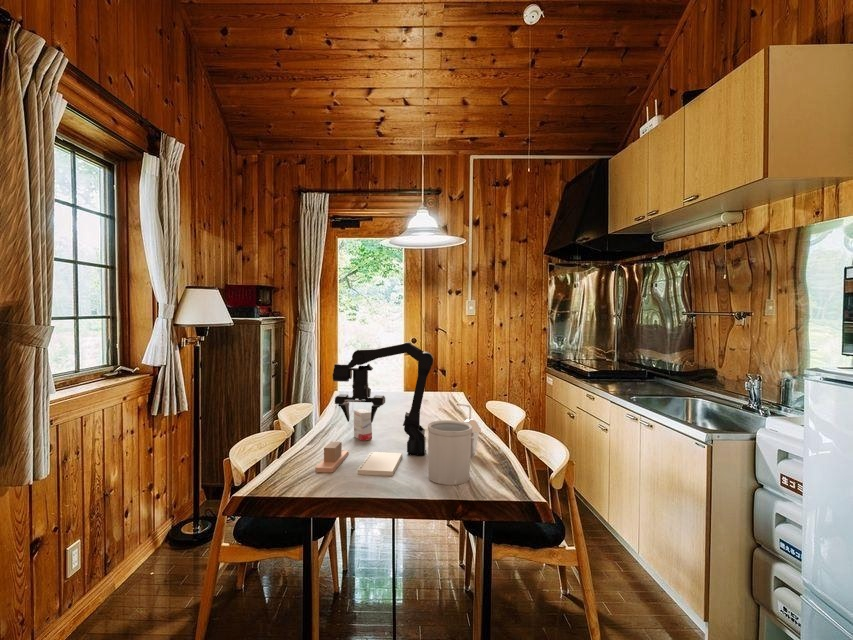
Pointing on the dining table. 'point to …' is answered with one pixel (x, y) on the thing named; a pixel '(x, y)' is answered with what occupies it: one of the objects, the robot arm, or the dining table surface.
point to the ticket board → (380, 464)
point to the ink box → (362, 424)
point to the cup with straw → (474, 433)
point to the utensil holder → (449, 452)
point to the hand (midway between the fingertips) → (360, 421)
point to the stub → (332, 457)
